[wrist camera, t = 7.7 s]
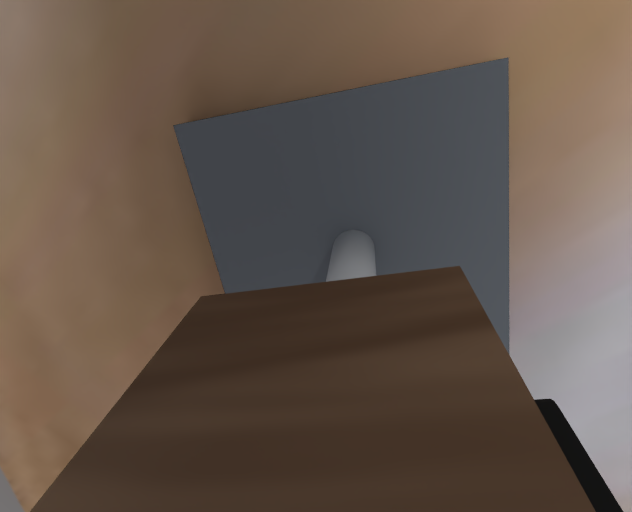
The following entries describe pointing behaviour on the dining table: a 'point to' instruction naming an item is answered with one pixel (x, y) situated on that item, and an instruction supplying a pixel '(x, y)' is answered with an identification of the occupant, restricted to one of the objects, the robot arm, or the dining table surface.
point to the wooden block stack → (326, 410)
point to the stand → (362, 185)
